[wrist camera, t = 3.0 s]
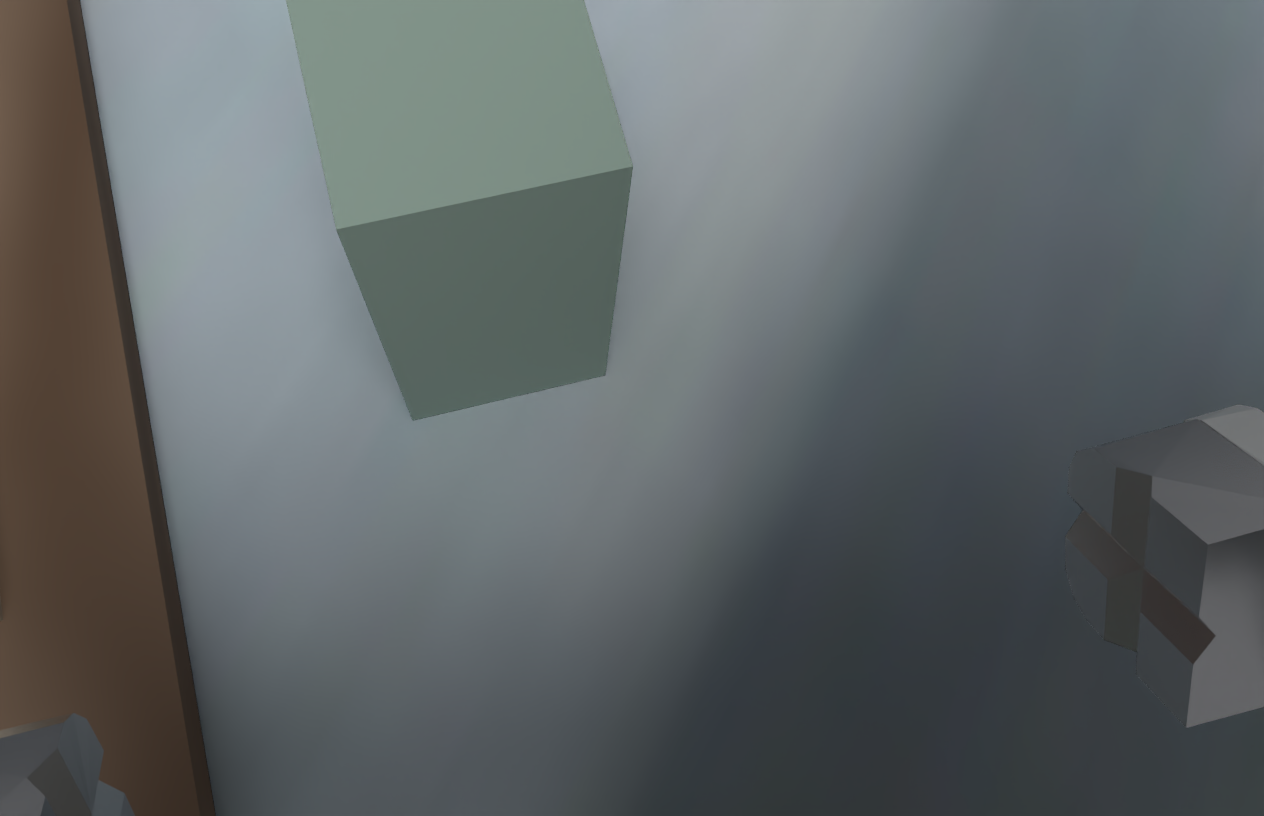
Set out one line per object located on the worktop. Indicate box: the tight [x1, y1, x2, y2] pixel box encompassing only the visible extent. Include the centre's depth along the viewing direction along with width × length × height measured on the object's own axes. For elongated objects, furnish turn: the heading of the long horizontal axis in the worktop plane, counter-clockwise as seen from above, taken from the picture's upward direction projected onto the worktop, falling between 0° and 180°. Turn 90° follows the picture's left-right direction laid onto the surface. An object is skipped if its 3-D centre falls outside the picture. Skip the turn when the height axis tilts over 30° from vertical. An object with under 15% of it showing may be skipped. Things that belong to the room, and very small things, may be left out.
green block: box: [286, 0, 633, 420], centre depth 21 cm, size 4×4×9 cm
